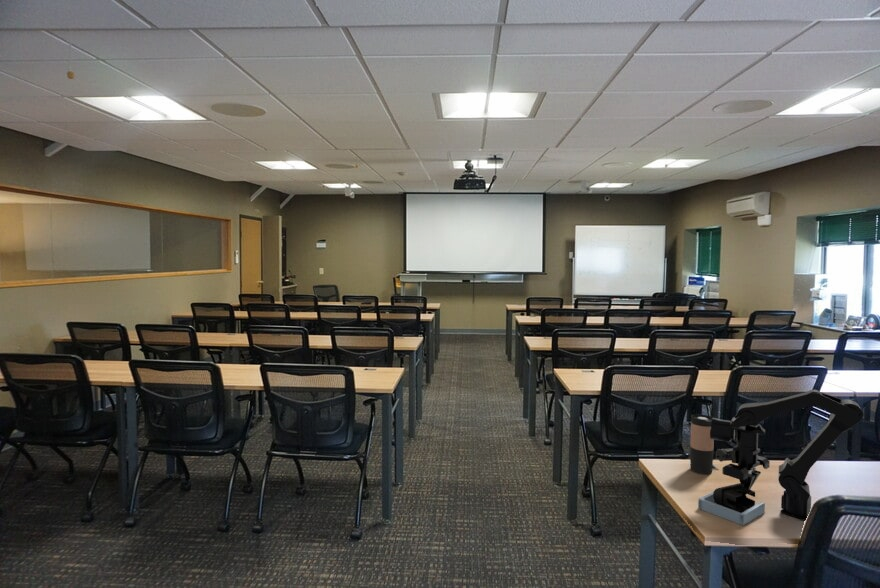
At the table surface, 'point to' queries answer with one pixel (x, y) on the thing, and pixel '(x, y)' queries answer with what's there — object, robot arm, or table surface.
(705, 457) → the travel mug
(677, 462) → the table surface
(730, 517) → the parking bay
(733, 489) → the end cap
